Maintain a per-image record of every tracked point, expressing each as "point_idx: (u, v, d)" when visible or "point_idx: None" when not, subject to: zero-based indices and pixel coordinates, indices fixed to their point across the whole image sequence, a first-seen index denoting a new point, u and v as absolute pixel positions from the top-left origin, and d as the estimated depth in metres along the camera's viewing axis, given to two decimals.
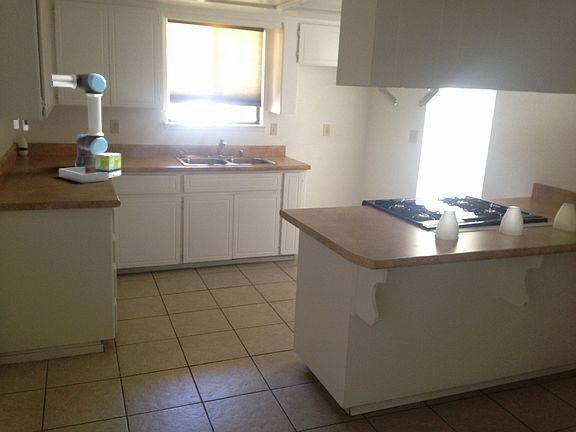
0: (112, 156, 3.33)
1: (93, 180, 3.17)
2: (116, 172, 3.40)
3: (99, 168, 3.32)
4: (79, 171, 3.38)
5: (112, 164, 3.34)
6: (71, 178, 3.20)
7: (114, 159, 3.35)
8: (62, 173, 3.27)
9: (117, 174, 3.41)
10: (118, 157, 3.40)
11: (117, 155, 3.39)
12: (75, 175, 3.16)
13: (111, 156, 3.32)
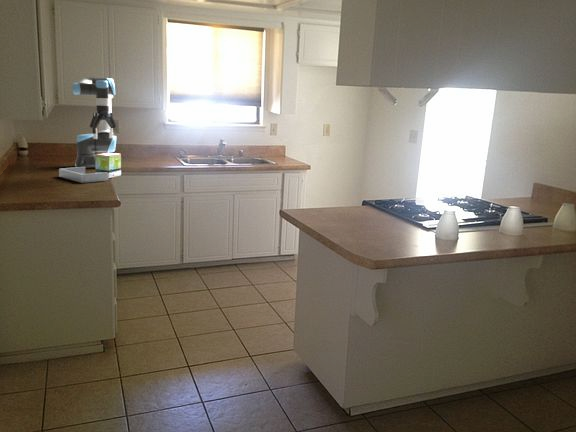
0: (112, 156, 3.33)
1: (93, 180, 3.17)
2: (116, 172, 3.40)
3: (99, 168, 3.32)
4: (79, 171, 3.38)
5: (112, 164, 3.34)
6: (71, 178, 3.20)
7: (114, 159, 3.35)
8: (62, 173, 3.27)
9: (117, 174, 3.41)
10: (118, 157, 3.40)
11: (117, 155, 3.39)
12: (75, 175, 3.16)
13: (111, 156, 3.32)
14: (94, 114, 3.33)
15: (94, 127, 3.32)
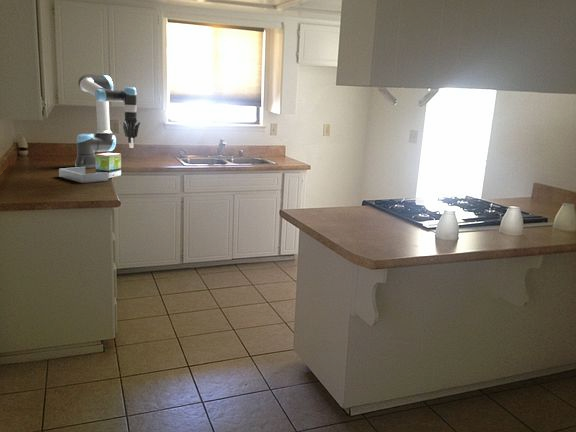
0: (112, 156, 3.33)
1: (93, 180, 3.17)
2: (116, 172, 3.40)
3: (99, 168, 3.32)
4: (79, 171, 3.38)
5: (112, 164, 3.34)
6: (71, 178, 3.20)
7: (114, 159, 3.35)
8: (62, 173, 3.27)
9: (117, 174, 3.41)
10: (118, 157, 3.40)
11: (117, 155, 3.39)
12: (75, 175, 3.16)
13: (111, 156, 3.32)
14: (122, 124, 3.41)
15: (129, 137, 3.45)
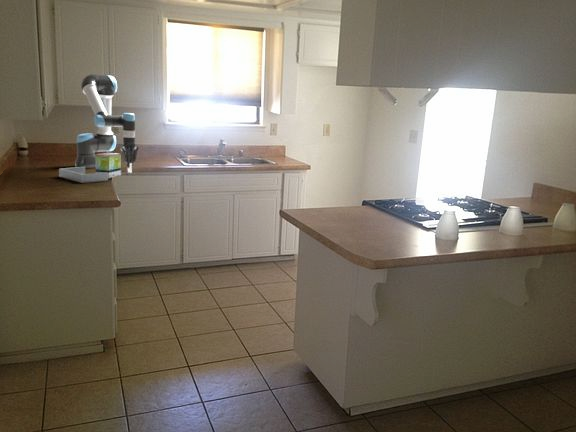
0: (112, 156, 3.33)
1: (93, 180, 3.17)
2: (116, 172, 3.40)
3: (99, 168, 3.32)
4: (79, 171, 3.38)
5: (112, 164, 3.34)
6: (71, 178, 3.20)
7: (114, 159, 3.35)
8: (62, 173, 3.27)
9: (117, 174, 3.41)
10: (118, 157, 3.40)
11: (117, 155, 3.39)
12: (75, 175, 3.16)
13: (111, 156, 3.32)
14: (121, 150, 3.44)
15: (128, 162, 3.48)
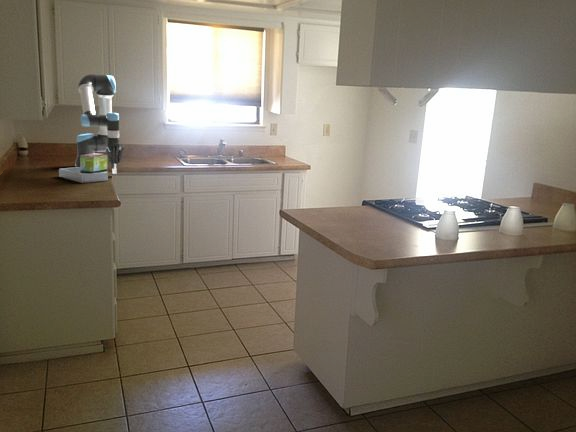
0: (97, 157, 3.25)
1: (93, 180, 3.17)
2: None
3: (83, 169, 3.24)
4: (79, 171, 3.38)
5: (97, 165, 3.26)
6: (71, 178, 3.20)
7: (99, 160, 3.28)
8: (62, 173, 3.27)
9: None
10: (104, 158, 3.32)
11: (103, 156, 3.31)
12: (75, 175, 3.16)
13: (96, 157, 3.24)
14: (105, 150, 3.35)
15: (112, 163, 3.39)
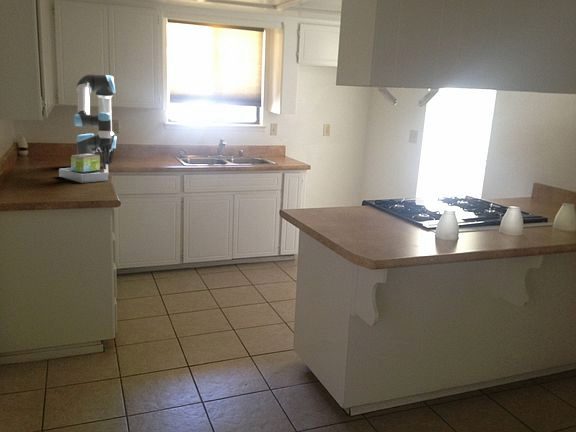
0: (88, 157, 3.21)
1: (93, 180, 3.17)
2: None
3: (74, 169, 3.21)
4: None
5: (88, 165, 3.22)
6: (71, 178, 3.20)
7: (90, 161, 3.23)
8: (62, 173, 3.27)
9: None
10: (96, 158, 3.28)
11: (94, 156, 3.26)
12: (75, 175, 3.16)
13: (86, 157, 3.20)
14: (96, 151, 3.31)
15: (104, 164, 3.35)
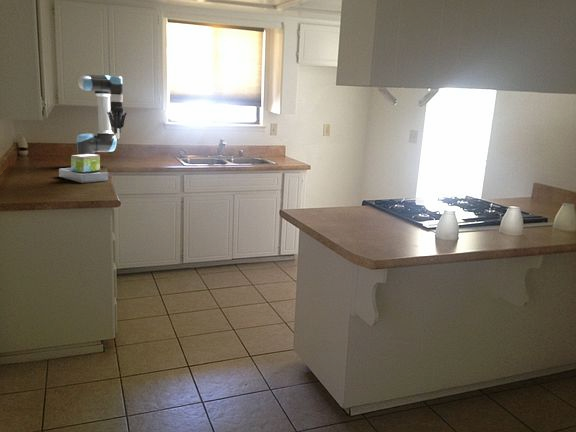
0: (88, 157, 3.21)
1: (93, 180, 3.17)
2: None
3: (74, 169, 3.21)
4: None
5: (88, 166, 3.22)
6: (71, 178, 3.20)
7: (90, 161, 3.23)
8: (62, 173, 3.27)
9: None
10: (96, 159, 3.28)
11: (95, 156, 3.27)
12: (75, 175, 3.16)
13: (86, 157, 3.20)
14: (108, 114, 3.32)
15: (115, 128, 3.36)
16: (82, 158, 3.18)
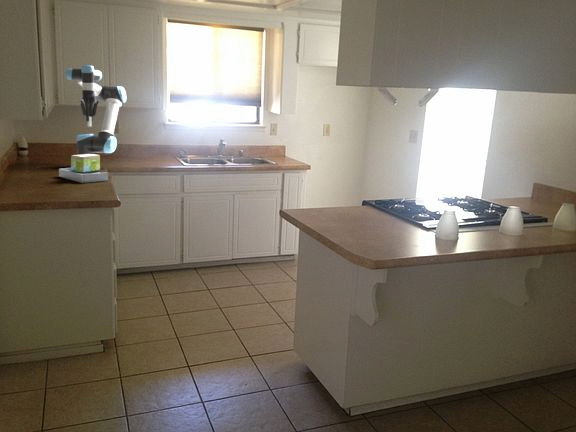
0: (88, 157, 3.21)
1: (93, 180, 3.17)
2: None
3: (74, 169, 3.21)
4: None
5: (88, 166, 3.22)
6: (71, 178, 3.20)
7: (90, 161, 3.23)
8: (62, 173, 3.27)
9: None
10: (96, 159, 3.28)
11: (95, 156, 3.27)
12: (75, 175, 3.16)
13: (86, 157, 3.20)
14: (80, 102, 3.40)
15: (87, 116, 3.44)
16: (82, 158, 3.18)
